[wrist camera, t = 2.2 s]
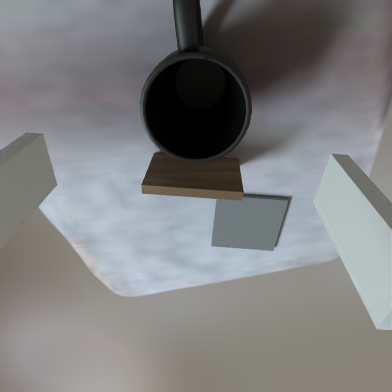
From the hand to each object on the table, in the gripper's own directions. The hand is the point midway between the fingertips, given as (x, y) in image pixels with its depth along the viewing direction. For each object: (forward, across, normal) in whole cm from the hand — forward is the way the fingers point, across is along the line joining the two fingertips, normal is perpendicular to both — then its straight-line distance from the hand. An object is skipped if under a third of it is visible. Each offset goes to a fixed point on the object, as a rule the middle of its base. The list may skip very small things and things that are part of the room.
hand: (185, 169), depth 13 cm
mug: (+18, 0, +2) cm, 18 cm away
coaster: (+18, +8, -18) cm, 26 cm away
